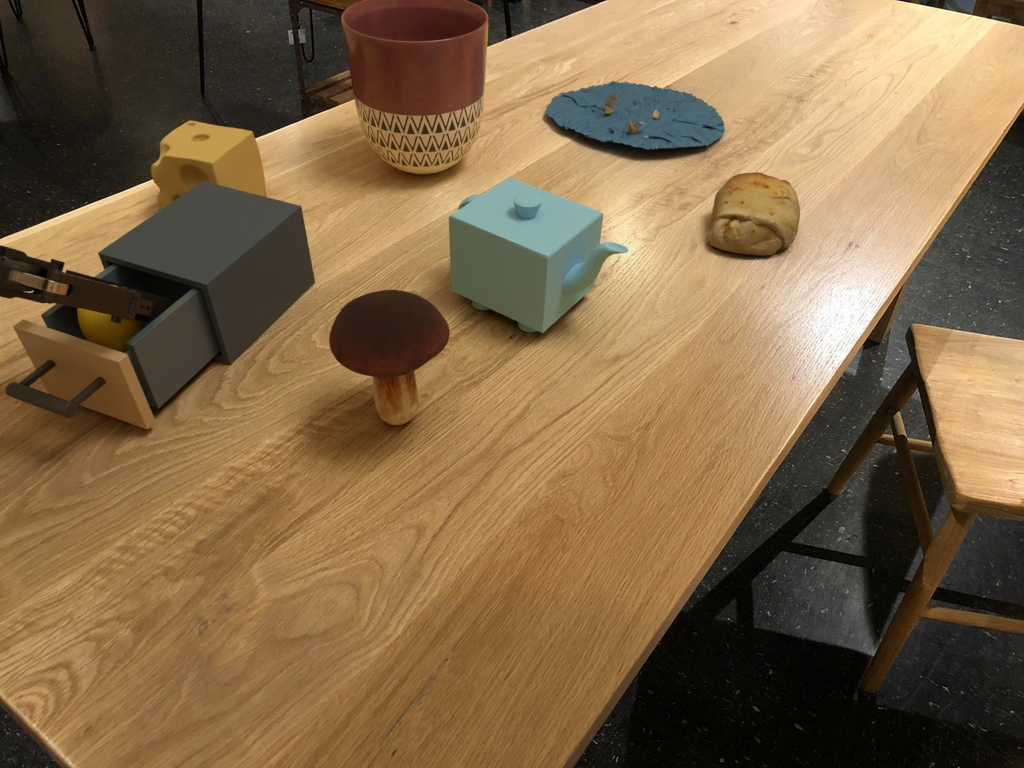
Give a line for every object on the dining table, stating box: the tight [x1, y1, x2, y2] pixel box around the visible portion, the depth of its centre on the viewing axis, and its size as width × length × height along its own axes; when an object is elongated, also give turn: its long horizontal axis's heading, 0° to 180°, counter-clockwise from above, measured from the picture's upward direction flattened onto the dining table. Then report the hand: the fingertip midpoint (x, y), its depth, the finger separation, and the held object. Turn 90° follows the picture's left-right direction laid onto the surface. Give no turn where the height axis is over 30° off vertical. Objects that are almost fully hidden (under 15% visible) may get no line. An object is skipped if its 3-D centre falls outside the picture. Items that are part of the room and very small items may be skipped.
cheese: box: [150, 119, 267, 211], centre depth 102 cm, size 10×11×10 cm
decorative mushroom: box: [328, 289, 450, 426], centre depth 72 cm, size 11×11×15 cm
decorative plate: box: [544, 80, 726, 151], centre depth 128 cm, size 30×30×5 cm
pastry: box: [706, 171, 801, 257], centre depth 102 cm, size 14×12×8 cm
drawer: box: [5, 263, 221, 430], centre depth 76 cm, size 20×12×9 cm, turn 158°
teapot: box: [448, 176, 629, 334], centre depth 87 cm, size 22×11×14 cm, turn 54°
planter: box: [340, 0, 489, 175], centre depth 109 cm, size 20×20×21 cm
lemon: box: [77, 285, 144, 353], centre depth 74 cm, size 6×6×8 cm
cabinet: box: [97, 181, 316, 366], centre depth 86 cm, size 17×14×11 cm
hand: (140, 304), depth 77 cm, fingers closed on lemon, 5 cm apart
